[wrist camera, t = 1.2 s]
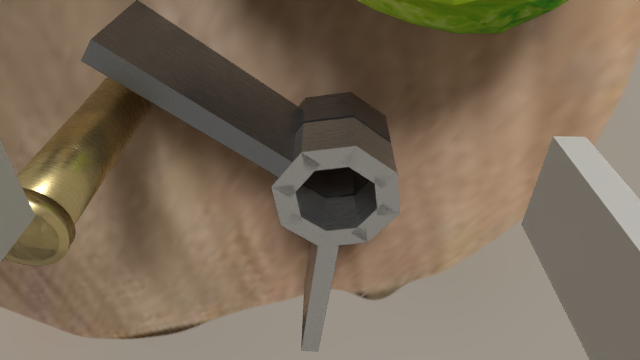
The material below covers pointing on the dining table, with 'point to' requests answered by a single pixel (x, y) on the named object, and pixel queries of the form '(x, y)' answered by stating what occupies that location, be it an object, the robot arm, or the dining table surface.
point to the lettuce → (465, 13)
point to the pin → (74, 170)
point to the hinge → (267, 139)
